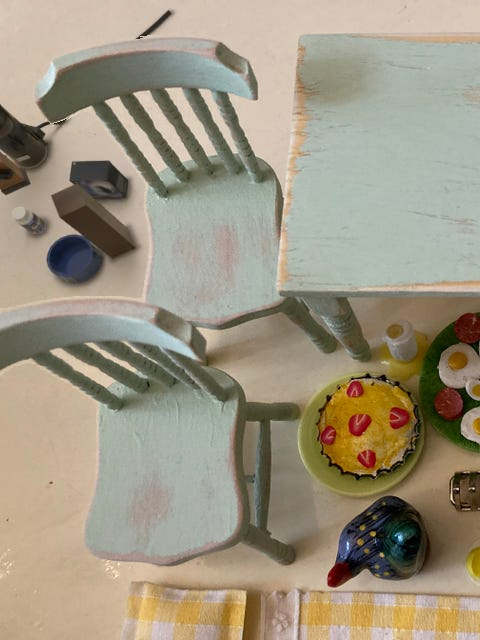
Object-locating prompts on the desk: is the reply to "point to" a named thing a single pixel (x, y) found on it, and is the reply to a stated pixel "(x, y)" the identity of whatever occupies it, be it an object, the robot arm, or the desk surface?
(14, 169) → the reddish-brown short block
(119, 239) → the brown rectangular block
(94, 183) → the small box
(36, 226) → the pill bottle
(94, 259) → the bowl
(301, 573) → the desk surface
